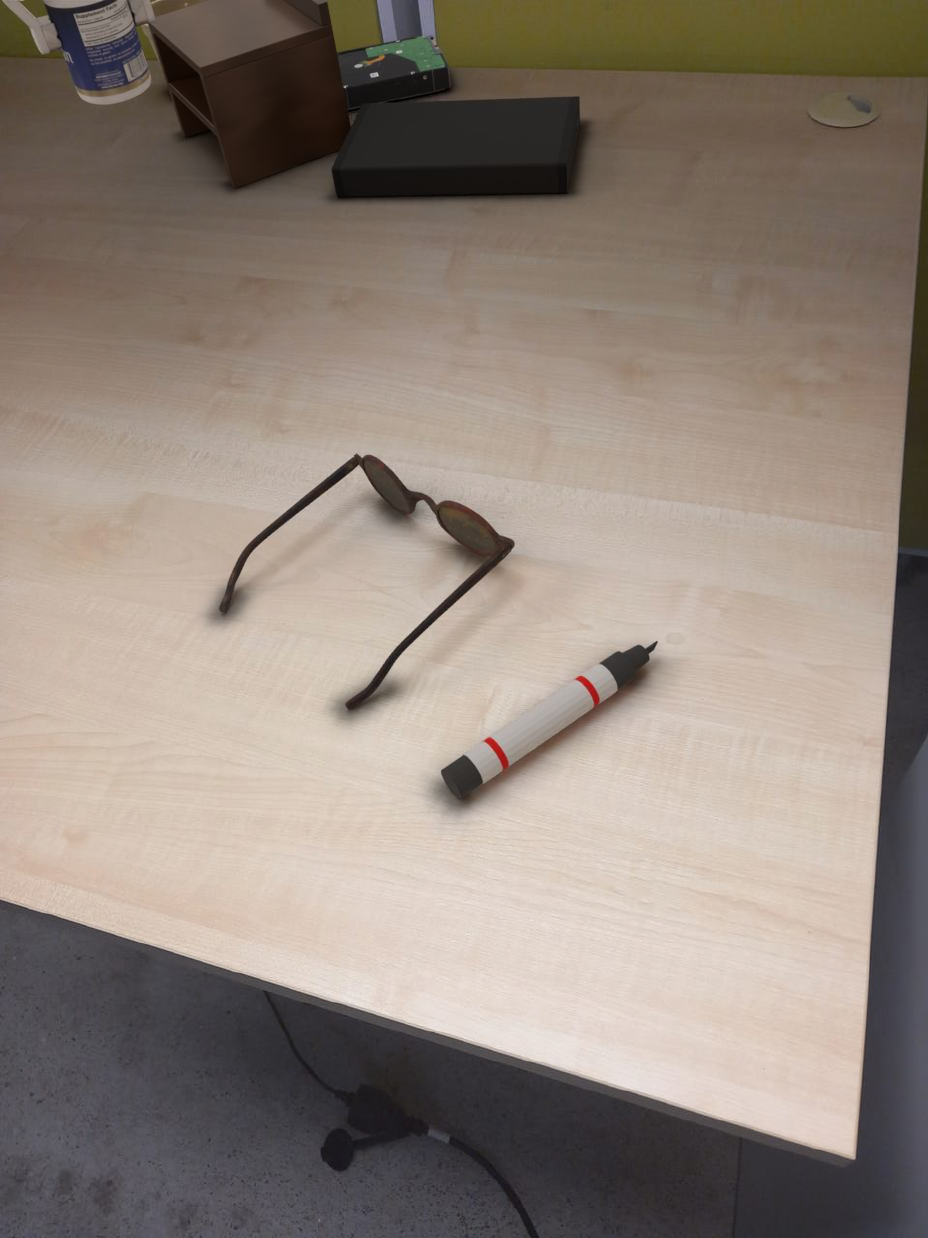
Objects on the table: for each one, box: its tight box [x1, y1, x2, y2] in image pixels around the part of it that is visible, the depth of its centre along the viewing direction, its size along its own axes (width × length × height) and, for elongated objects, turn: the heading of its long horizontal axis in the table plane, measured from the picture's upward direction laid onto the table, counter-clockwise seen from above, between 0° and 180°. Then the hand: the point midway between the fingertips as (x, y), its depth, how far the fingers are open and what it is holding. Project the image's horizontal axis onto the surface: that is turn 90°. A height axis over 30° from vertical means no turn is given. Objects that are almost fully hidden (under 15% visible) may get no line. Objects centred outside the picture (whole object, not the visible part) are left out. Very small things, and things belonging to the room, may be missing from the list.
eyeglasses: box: [218, 452, 516, 710], centre depth 66 cm, size 15×15×5 cm
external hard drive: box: [331, 95, 581, 198], centre depth 104 cm, size 14×23×3 cm, turn 81°
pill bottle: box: [42, 0, 152, 106], centre depth 70 cm, size 5×5×10 cm
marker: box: [440, 640, 659, 800], centre depth 59 cm, size 15×2×2 cm, turn 126°
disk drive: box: [337, 34, 452, 111], centre depth 118 cm, size 10×3×15 cm
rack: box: [148, 0, 352, 189], centre depth 107 cm, size 14×16×14 cm
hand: (96, 35), depth 71 cm, fingers closed on pill bottle, 5 cm apart
